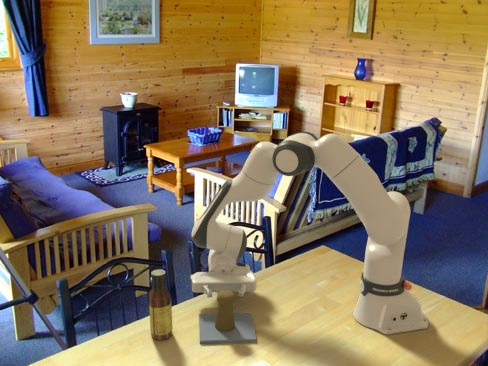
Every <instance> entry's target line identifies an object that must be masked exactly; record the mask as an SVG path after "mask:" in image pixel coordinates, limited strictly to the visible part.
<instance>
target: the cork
mask: <svg viewBox="0 0 488 366" xmlns="http://www.w3.org/2000/svg"><path fill="white" fill-rule="evenodd" d="M217 293H218V294H217V295H216V302H217V304H218V305H217V309H216V313H217V315H216V322H215V328H216V329H217V330H218V331H221V332H229V331H232V330H233V329H234V328H235V320H234V313H235V312H234V305H233V304H234V302H235V299H236V298H235V297H236V296H235V295H234V292H230V291H221V292H217Z"/></svg>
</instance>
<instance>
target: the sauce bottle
mask: <svg viewBox="0 0 488 366" xmlns="http://www.w3.org/2000/svg"><path fill="white" fill-rule="evenodd" d="M166 273H167V272H166V271H165V270H164V269H154V270H152V271H151V273H150V277H151V280H152V281H151V283H152V285H151V286H152V287H151V290H150V291H149V294H148V311H149V324H150V325H149V328H150V335H151V337H152V338H153V339H155V340H158V341H163V340H167V339H169V338H171V336H172V335H173V311H172V296H171V294H170V291H169V289H168V286H167V284H166V277H167V274H166Z"/></svg>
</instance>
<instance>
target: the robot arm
mask: <svg viewBox="0 0 488 366" xmlns="http://www.w3.org/2000/svg"><path fill="white" fill-rule="evenodd" d="M314 167H316V168H318V169H320V170H322V171H323V173H324V174H325V175H326V176H327V177H328V178H329V180H330V181H331V182H332V183H333V184H334V185H335V186H336V188H337V189H338V190H339V191H340V192H341V193H342V195H344V197H345V198H346V199H347V201H348V202H349V204H350V205H351V207H352V208H353V210H354V212H355V213H356V215H357V217H358V218H359V220H360V222H361V223H362V225H363V226H364V228H365V231H366V233H367V235H368V236H367V242H366V247H365V254H364V261H363V262H364V263H363V270H362V272H361V277H360V282H359V296H358V300H357V303H356V306H355V308H354V310H353V312H352V314H353V317H354V319H355V320H356V321H357V322H358V323H360V324H361V325H363V326H365V327H367V328H369V329H373V330H376V331H378V332H379V333H381V334H384V335H392V334H398V333H400V334H401V333H405V332H411V331H417V330H424V329H425V330H426V329H427V328H429V318H428V317H427V315H426V313H425V312H424V311H423V310H422V306H421V303H420V301H419V300H418V298H417V297H416V295H414V294H413V293H412V292H411V291H410V290H411V289H412V287H413V286H412V284H411V283H410V282H409V281H407V280H406V278H405V277H404V276H402V269H403V263H404V254H405V249H406V242H407V237H408V231H409V223H410V219H411V218H410V217H411V205H410V203H409V201H408V199H407V197H406V196H405V195H403V194H402V193H401V192H398V191H387V190H386V188H385V187H384V185H383V184H382V182H381V180H380V178H379V175H378V174H377V173H376V172H375V171H374V169H373V168H372V167H371V166H370V165H369V164H368V163H367V162H366V161H365V160H364V158H363V157H362V156H361V155H360V154H359V153H358V152H357V151H356V150H355V148H353V147H352V146H351V145H350V144H349V143H348V142H347V140H344V139H343V138H342V137H340V136H339V135H338V134H336V133H328V134H327V133H326V134H325V135H322V136H321V137H320V138H319V139H318V137H317V136H316V135H315V134H314V133H311V132H309V131H298V132H296V133H294V134H291V135H289V136H287V137H285V139H284V140H282V141H281V142H279V143H278V144H276V143H274V142H270V141H260V142H258V143H257V144H255V146H254V147H253V148H252V150H251V152H250V153H249V155H248V156H247V159H246V160H245V163H244V164H243V166H242V169H241V171H240V172H239V173H238V174H237V175H236V176H235V177H233V178H232V179H227V180H225V182H224V183H223V184H222V185H221V187H220V188H219V189H218V191H217V192H216V193H215V195H214V197H213V199H212V200H211V201H210V203H209V204H208V206H207V207H206V209H205V211H204V212H203V213H202V215H201V216H200V217H198V219H197V221H196V222H195V223H194V225H193V227H192V231H191V239H192V242H193V243H194V245H195V246H196V247H198V248H202V249H208V250H209V254H208V258H207V262H208V264H207V265H208V271H197V272H195V273H193V274H190V280H191V292H193V293H203V294H205V295H206V296H207V298H213V293H219V292H221V291H230V292H232V293H236V292H237V296H238V298H239V297H240V298H241V297H242V298H243V297H244V295H245V293H246V292H255V291H256V290H257V278H256V275H255V273H254V272H253V271H252V270H251V268H250V265H249V264H247V263H241V262H239V261H240V260H241V259H243V257H244V255H245V253H246V250H247V248H248V247H247V245H248V237H247V233H246V231H245V230H244V228H241V227H238V226H235V225H232V224H228V223H225V222H221V221H219V220H217V219H218V217H219V216H220V214H221V213H222V211H223V210H224V208H225V207H226V206H227V205H229V204H232V203H238V202H240V203H241V202H242V203H243V202H245V203H246V202H249V203H250V202H251V203H253V202H257V201H260V200H262V199H265V198H266V197H267V196H268V195H269V194H270V192H271V190H272V189H273V187H274V184H275V183H276V180H277V178H278V175H279V174H281V175H282V176H285V177H293V176H299V175H301V174H303V173H305V172H309V171H311V170H312V169H314Z"/></svg>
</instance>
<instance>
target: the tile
mask: <svg viewBox="0 0 488 366" xmlns="http://www.w3.org/2000/svg"><path fill="white" fill-rule="evenodd" d="M216 315H217V312H216V313H212V312H211V313H199V314H198V329H199V332H198V333H199V345H201V344H202V345H205V344H206V345H207V344H233V343H235V344H237V343H238V344H239V343H257V335H256V331H255V325H254V320H253V315H252V312H234V320H235V328H234V329H233V330H232V331H229V332H221V331H218V330H217V329H216V328H215V322H216Z"/></svg>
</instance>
